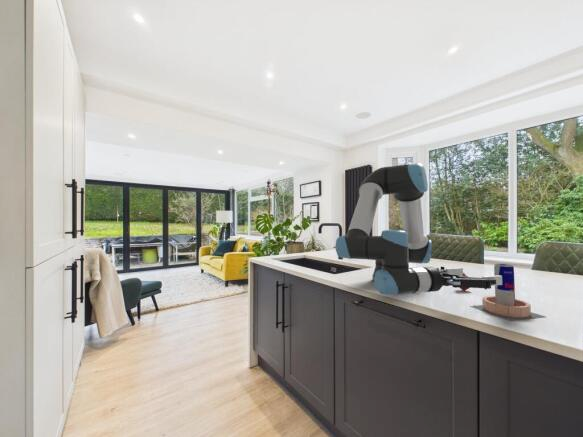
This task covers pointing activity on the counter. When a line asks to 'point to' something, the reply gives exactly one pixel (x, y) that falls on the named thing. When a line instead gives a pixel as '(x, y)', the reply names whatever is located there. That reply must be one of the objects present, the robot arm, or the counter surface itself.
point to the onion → (464, 287)
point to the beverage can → (505, 285)
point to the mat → (532, 316)
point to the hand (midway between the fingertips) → (480, 275)
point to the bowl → (507, 308)
